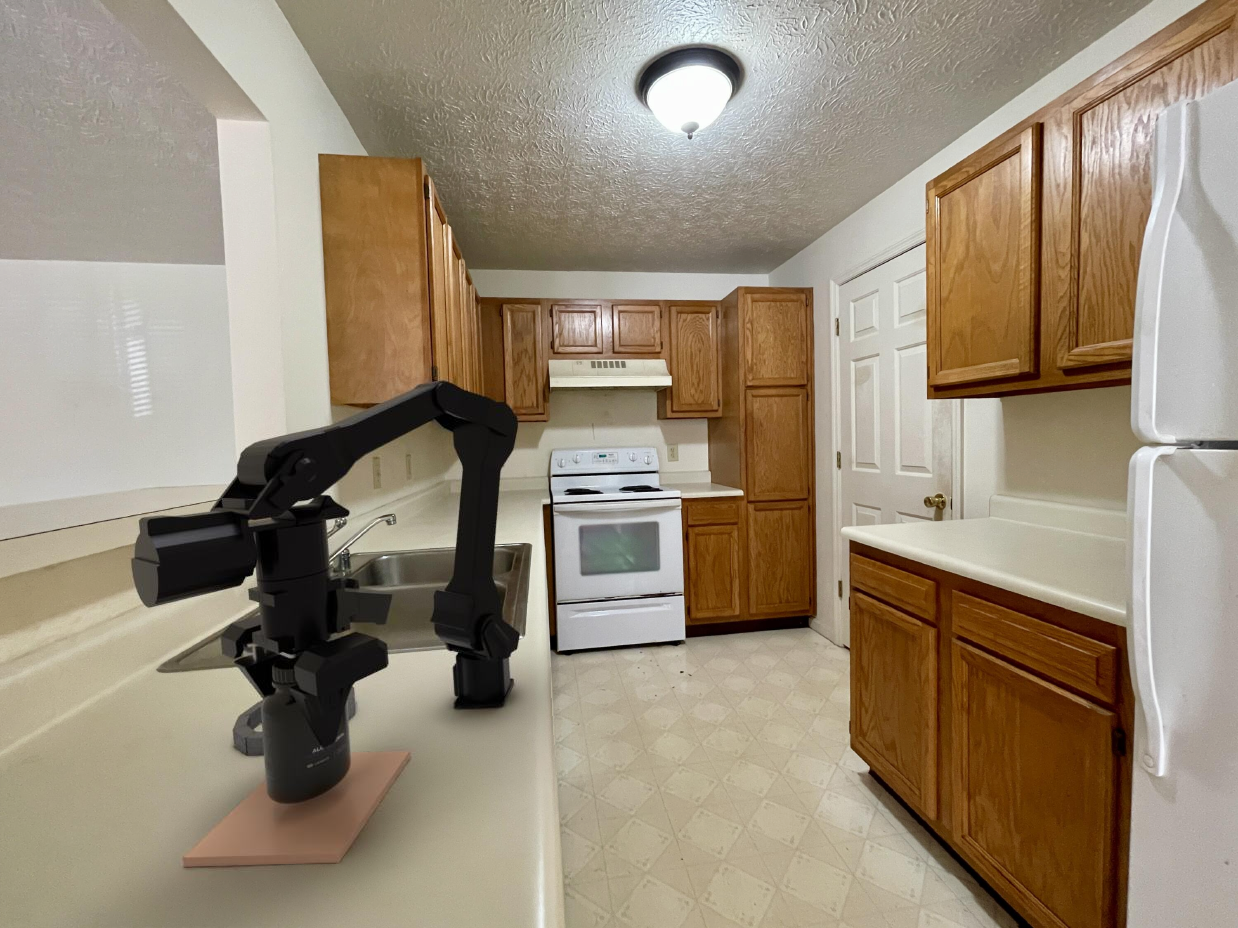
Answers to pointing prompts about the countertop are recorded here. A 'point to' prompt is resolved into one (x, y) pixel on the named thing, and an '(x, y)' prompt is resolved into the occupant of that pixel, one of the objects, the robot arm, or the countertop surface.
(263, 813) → the tile
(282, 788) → the supplement bottle
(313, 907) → the countertop surface
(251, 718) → the collar
